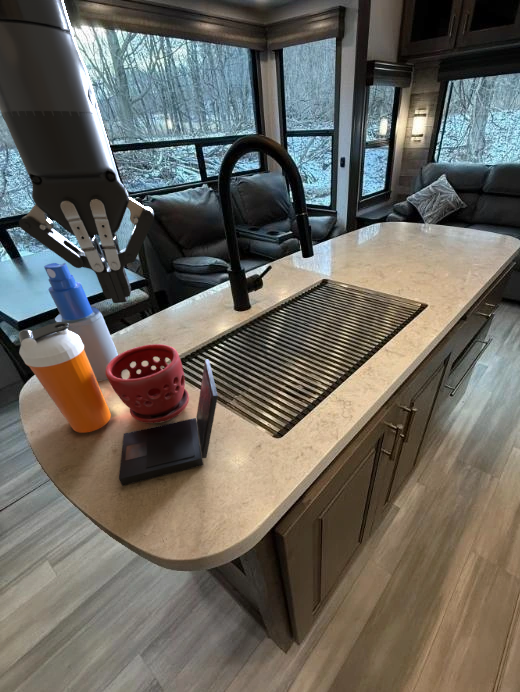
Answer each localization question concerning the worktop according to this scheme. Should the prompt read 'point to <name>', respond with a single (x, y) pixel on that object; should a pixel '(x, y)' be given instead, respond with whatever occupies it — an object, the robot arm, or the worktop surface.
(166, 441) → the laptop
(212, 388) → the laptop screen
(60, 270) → the spray bottle
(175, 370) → the flower pot
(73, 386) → the shaker bottle
